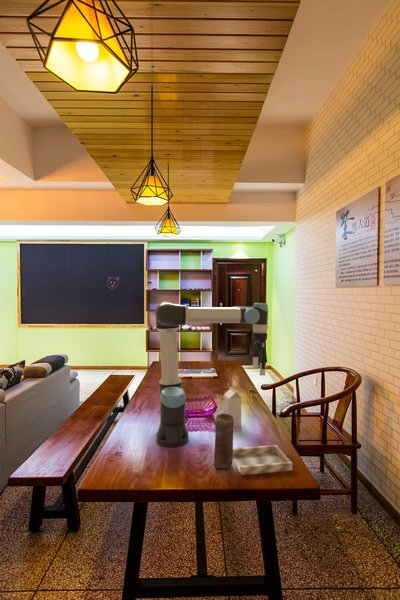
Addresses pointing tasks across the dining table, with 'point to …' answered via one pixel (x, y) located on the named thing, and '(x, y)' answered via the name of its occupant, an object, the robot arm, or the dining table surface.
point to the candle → (224, 441)
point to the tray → (261, 460)
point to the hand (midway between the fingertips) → (258, 372)
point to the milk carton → (233, 405)
